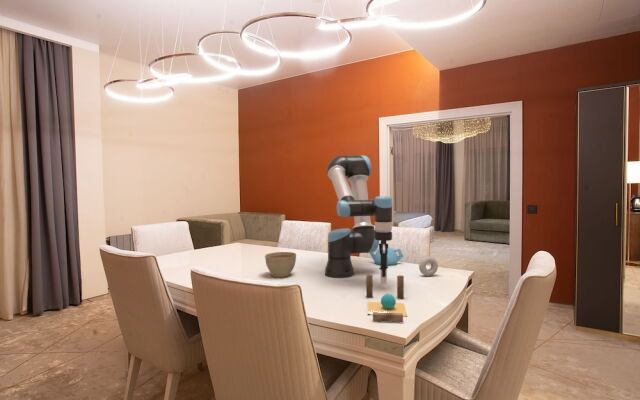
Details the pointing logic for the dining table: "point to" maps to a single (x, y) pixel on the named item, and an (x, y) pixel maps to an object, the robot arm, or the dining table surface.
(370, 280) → the left post
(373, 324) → the dining table surface
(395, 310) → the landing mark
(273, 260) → the planter bowl
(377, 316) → the brown rectangular bar
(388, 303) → the ball
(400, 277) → the right post
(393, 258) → the teapot
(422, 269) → the donut
